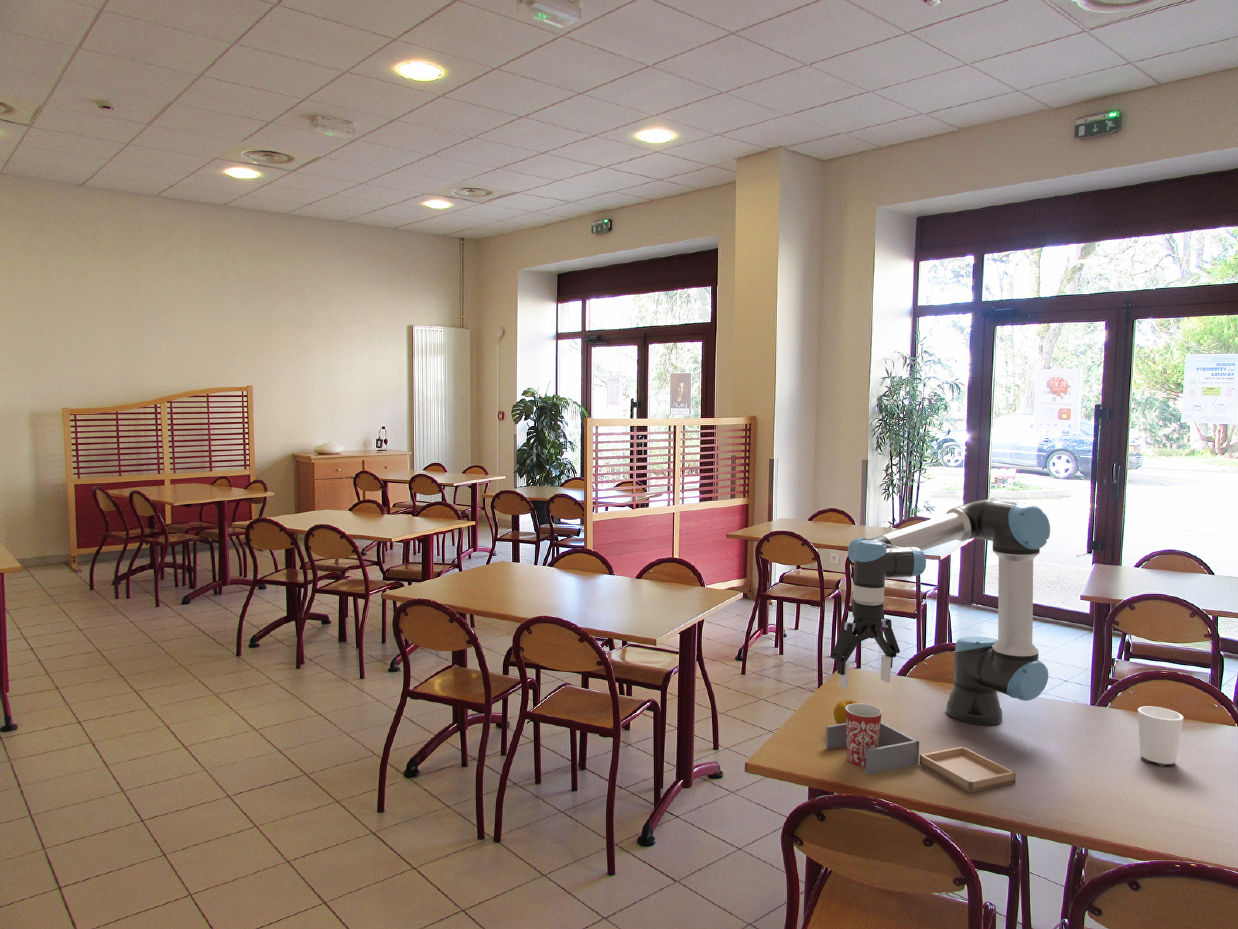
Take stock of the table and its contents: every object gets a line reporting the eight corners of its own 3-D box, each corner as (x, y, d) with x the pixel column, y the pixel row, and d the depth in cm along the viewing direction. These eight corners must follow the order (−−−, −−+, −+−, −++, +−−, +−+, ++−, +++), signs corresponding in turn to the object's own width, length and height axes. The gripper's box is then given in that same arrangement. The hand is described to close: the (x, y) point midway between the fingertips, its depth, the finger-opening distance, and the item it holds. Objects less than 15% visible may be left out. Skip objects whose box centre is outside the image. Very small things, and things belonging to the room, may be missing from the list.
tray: (962, 755, 211) (962, 746, 211) (1015, 782, 196) (1015, 772, 196) (919, 764, 206) (919, 754, 205) (970, 793, 191) (970, 782, 190)
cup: (1173, 756, 213) (1176, 709, 212) (1186, 772, 204) (1189, 722, 203) (1130, 750, 216) (1133, 704, 215) (1140, 765, 207) (1143, 717, 206)
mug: (881, 771, 202) (883, 717, 201) (843, 766, 204) (845, 714, 203) (878, 750, 214) (880, 700, 213) (842, 746, 216) (844, 696, 215)
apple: (831, 735, 223) (832, 704, 223) (835, 724, 231) (836, 694, 231) (863, 740, 220) (864, 708, 220) (866, 729, 228) (867, 698, 227)
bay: (873, 739, 221) (874, 718, 220) (918, 764, 205) (919, 741, 205) (825, 748, 215) (826, 726, 214) (867, 774, 199) (868, 751, 199)
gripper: (895, 595, 215) (891, 674, 216) (818, 602, 204) (815, 684, 206) (916, 601, 208) (912, 683, 209) (838, 608, 197) (834, 694, 199)
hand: (864, 684), depth 207 cm, fingers open, 13 cm apart
